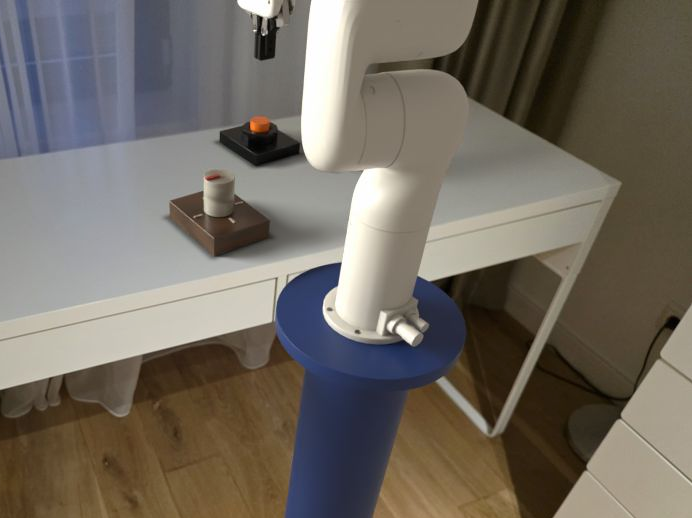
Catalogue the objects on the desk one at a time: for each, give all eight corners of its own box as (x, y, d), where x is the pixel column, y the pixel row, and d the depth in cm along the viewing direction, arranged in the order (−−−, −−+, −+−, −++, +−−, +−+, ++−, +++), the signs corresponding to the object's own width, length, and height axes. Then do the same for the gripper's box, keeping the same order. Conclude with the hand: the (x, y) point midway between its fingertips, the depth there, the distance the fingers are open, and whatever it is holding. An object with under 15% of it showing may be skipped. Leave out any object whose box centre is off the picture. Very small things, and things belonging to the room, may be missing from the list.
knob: (223, 199, 102) (223, 164, 99) (239, 212, 100) (241, 176, 96) (198, 207, 101) (197, 172, 97) (214, 220, 98) (214, 184, 94)
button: (273, 131, 121) (274, 121, 120) (257, 135, 120) (258, 125, 118) (262, 124, 123) (262, 115, 122) (246, 128, 122) (246, 118, 121)
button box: (299, 154, 122) (301, 133, 120) (255, 166, 118) (256, 145, 115) (261, 131, 130) (262, 111, 127) (219, 142, 125) (219, 121, 123)
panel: (269, 237, 100) (270, 219, 98) (213, 256, 96) (214, 237, 94) (222, 201, 108) (222, 183, 106) (169, 217, 104) (168, 199, 102)
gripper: (222, -76, 101) (221, 50, 113) (280, -61, 92) (272, 74, 104) (262, -80, 105) (257, 43, 117) (322, -65, 95) (309, 67, 107)
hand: (264, 58), depth 110 cm, fingers closed
